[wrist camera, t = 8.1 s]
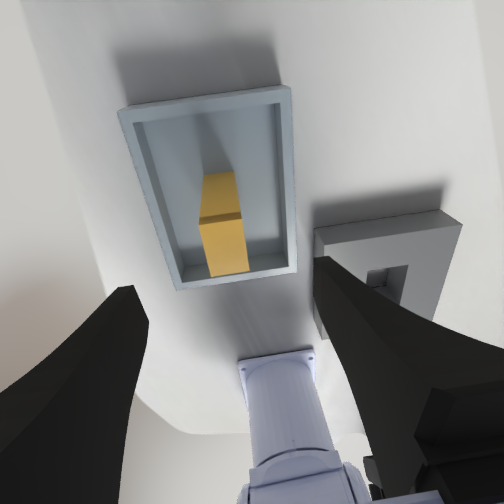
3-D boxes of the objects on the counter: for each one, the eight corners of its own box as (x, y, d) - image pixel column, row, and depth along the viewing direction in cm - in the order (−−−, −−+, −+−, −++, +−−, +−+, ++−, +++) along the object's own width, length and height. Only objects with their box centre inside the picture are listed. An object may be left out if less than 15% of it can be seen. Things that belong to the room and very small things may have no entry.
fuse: (240, 212, 21) (249, 271, 15) (212, 216, 21) (210, 277, 15) (233, 170, 19) (241, 218, 14) (203, 175, 19) (198, 225, 13)
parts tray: (290, 253, 24) (297, 272, 22) (179, 270, 24) (175, 290, 22) (282, 84, 17) (291, 87, 15) (128, 105, 17) (116, 111, 15)
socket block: (415, 303, 29) (431, 322, 27) (314, 319, 28) (321, 340, 26) (440, 209, 23) (462, 224, 21) (314, 228, 23) (324, 245, 21)
